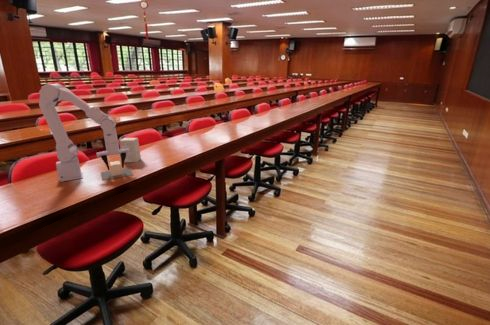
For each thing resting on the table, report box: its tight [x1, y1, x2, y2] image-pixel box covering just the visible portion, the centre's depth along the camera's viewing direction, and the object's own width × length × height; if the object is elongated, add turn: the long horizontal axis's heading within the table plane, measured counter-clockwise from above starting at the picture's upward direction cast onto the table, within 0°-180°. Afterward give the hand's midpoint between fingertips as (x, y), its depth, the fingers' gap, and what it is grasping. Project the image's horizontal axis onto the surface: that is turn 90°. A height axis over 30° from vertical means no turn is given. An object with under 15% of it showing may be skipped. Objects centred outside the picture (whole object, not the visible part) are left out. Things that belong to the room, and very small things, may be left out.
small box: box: [119, 137, 142, 163], centre depth 156 cm, size 8×6×13 cm
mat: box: [100, 167, 134, 181], centre depth 138 cm, size 14×12×1 cm
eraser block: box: [109, 160, 122, 176], centre depth 137 cm, size 4×6×6 cm
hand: (115, 168), depth 137 cm, fingers open, 6 cm apart
